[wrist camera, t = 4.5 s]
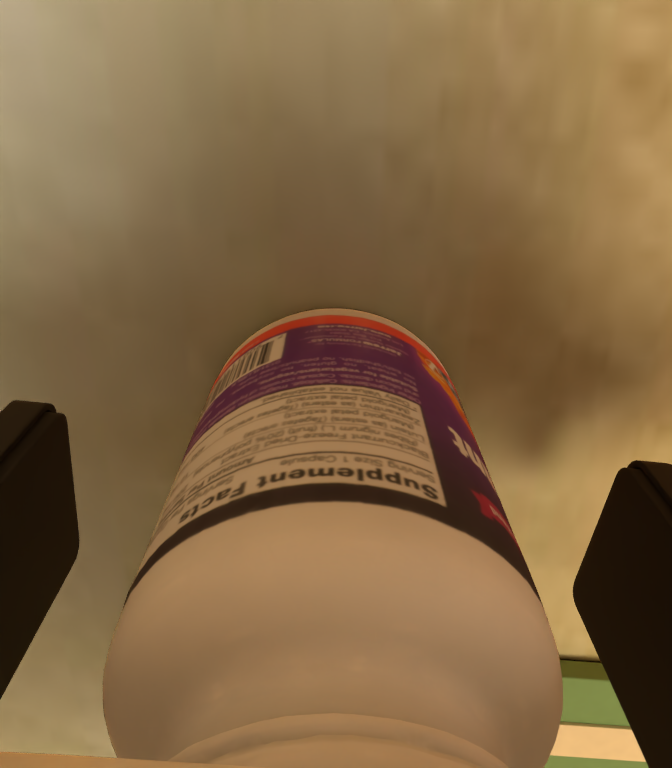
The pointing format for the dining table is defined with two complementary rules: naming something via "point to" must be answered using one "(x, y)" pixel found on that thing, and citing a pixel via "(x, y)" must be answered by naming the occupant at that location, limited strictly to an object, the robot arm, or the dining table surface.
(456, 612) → the pill bottle
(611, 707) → the towel
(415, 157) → the dining table surface
